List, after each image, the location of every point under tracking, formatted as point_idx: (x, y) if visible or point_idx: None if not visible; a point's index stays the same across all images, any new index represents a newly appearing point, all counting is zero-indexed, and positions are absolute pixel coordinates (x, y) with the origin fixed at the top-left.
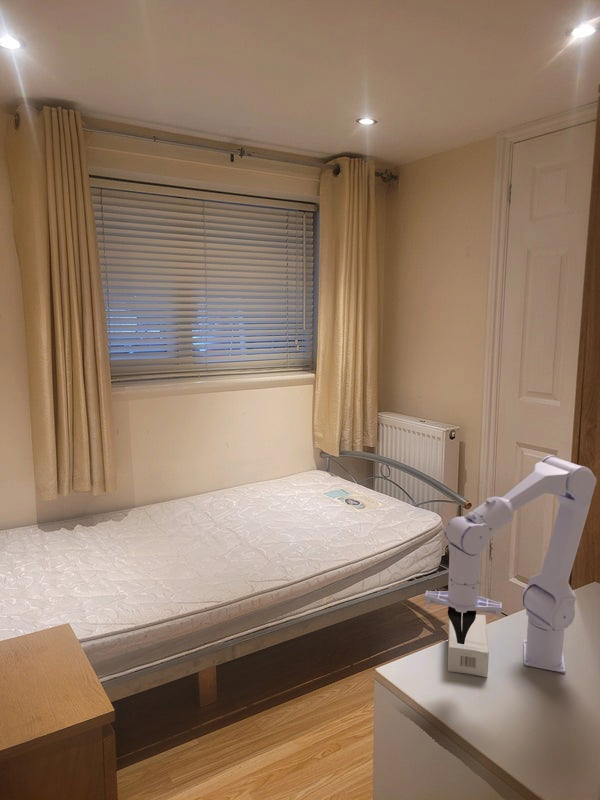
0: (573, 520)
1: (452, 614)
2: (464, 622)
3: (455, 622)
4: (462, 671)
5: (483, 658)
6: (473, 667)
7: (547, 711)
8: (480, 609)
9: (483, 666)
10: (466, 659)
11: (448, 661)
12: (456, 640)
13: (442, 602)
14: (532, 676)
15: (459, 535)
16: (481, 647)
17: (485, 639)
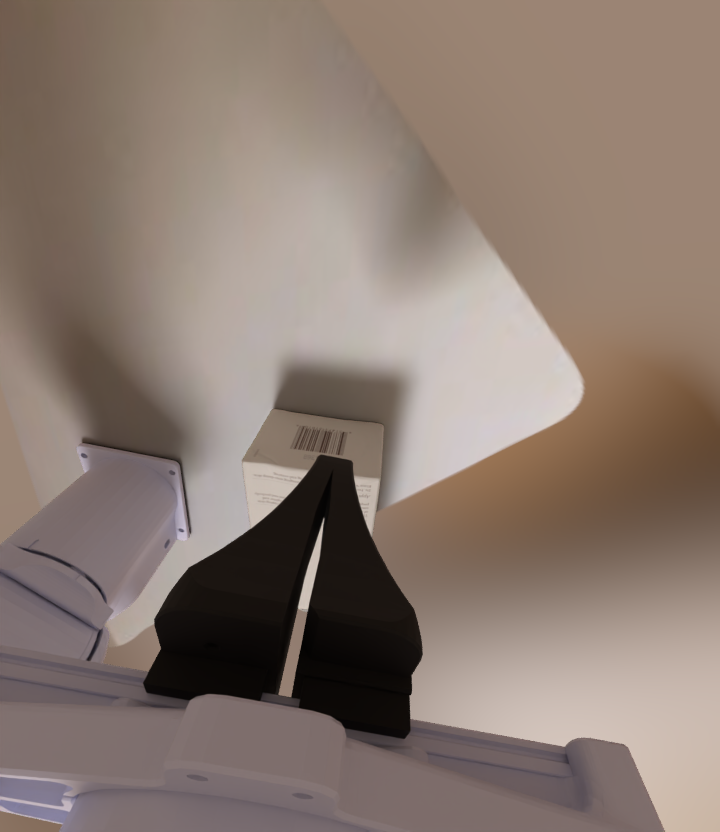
0: None
1: (379, 640)
2: (281, 560)
3: (355, 561)
4: (341, 421)
5: (266, 446)
6: (306, 427)
7: (91, 280)
8: (33, 723)
9: (273, 428)
10: (324, 445)
11: (382, 443)
12: None
13: (497, 815)
14: (155, 425)
15: None
16: (266, 484)
17: (254, 518)
